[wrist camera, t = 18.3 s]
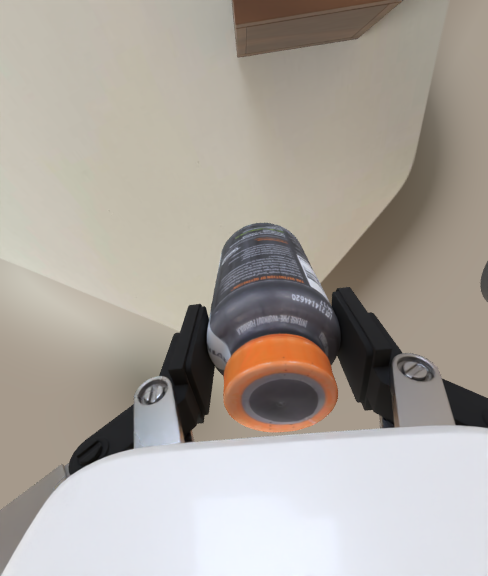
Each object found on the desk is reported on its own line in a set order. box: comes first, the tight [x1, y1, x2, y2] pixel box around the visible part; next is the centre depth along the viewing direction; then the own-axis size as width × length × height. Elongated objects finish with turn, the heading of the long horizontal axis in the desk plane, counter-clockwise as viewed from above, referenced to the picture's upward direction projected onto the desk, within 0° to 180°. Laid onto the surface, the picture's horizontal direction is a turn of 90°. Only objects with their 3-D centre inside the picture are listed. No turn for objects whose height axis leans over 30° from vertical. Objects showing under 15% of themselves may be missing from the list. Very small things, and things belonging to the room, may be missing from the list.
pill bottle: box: [207, 223, 341, 432], centre depth 13 cm, size 6×6×11 cm
